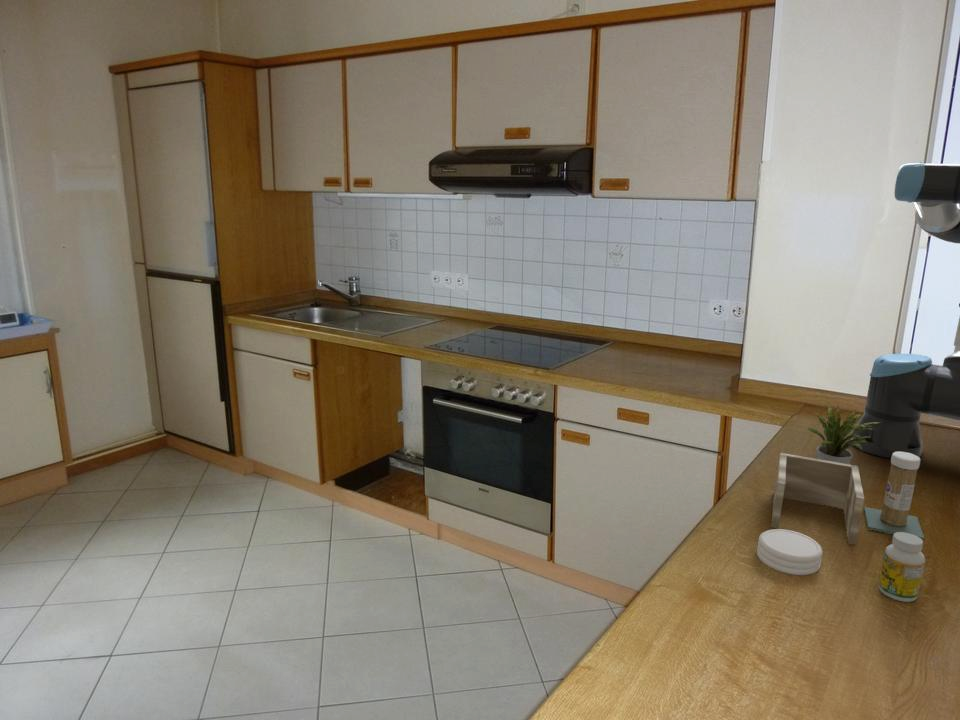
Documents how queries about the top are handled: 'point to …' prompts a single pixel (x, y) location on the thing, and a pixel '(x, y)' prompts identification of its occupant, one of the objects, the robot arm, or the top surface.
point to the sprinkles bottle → (899, 488)
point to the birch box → (820, 488)
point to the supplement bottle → (902, 567)
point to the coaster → (789, 552)
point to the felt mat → (879, 525)
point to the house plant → (838, 437)
